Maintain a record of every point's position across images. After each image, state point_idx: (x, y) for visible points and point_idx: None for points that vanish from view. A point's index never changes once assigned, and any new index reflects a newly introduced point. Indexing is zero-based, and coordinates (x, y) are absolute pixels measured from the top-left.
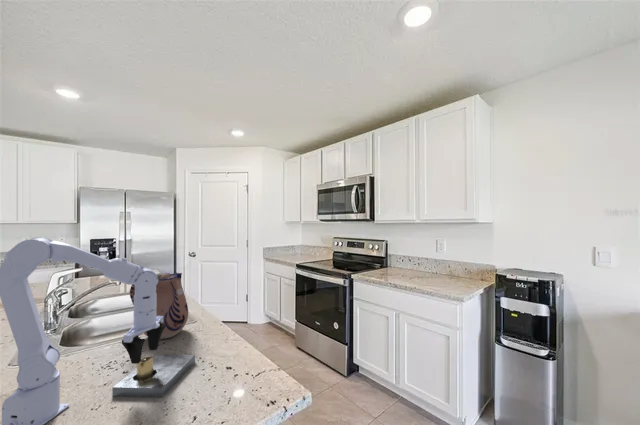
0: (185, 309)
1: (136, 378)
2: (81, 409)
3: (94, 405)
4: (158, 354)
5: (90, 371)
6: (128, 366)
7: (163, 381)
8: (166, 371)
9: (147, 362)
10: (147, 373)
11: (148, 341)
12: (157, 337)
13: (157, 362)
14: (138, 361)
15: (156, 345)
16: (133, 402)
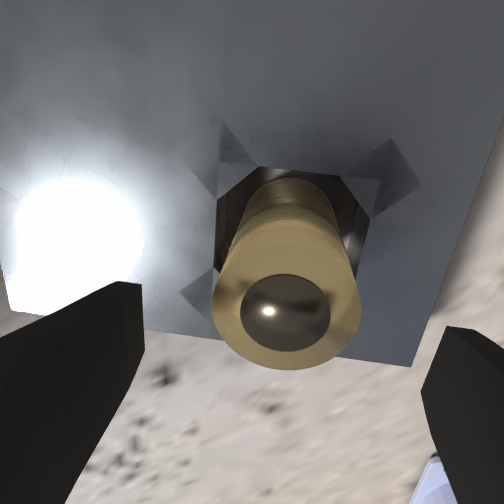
0: None
1: None
2: None
3: None
4: (7, 283)
5: (167, 498)
6: None
7: (426, 21)
8: (249, 85)
9: (339, 263)
10: (330, 219)
11: (89, 452)
12: (19, 399)
13: (112, 238)
14: (493, 345)
15: (113, 312)
16: (497, 187)
